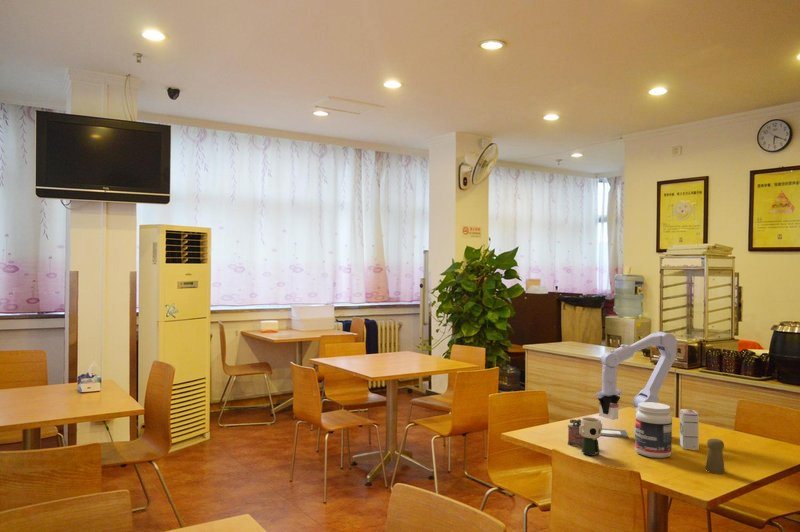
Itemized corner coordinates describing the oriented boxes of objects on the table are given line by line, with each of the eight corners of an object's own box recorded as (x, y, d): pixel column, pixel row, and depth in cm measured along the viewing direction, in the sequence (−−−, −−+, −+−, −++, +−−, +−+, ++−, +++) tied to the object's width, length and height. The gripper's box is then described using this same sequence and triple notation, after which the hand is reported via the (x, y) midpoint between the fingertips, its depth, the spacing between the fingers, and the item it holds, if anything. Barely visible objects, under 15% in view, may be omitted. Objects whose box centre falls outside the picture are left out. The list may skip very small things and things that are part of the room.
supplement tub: (628, 452, 226) (629, 404, 226) (645, 446, 234) (646, 400, 234) (661, 461, 216) (662, 411, 216) (677, 455, 224) (678, 406, 224)
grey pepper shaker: (701, 468, 210) (702, 436, 210) (717, 468, 210) (718, 436, 210) (712, 474, 204) (712, 441, 204) (728, 473, 204) (729, 441, 204)
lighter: (587, 444, 236) (588, 418, 236) (589, 446, 233) (590, 421, 233) (566, 443, 237) (567, 417, 237) (568, 445, 234) (568, 420, 234)
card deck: (604, 415, 257) (604, 401, 257) (618, 418, 251) (618, 404, 251) (599, 416, 255) (599, 402, 255) (613, 419, 249) (613, 405, 249)
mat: (625, 431, 256) (625, 430, 256) (628, 438, 246) (628, 437, 246) (588, 428, 260) (588, 427, 260) (590, 434, 249) (590, 433, 249)
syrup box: (699, 450, 231) (699, 413, 231) (682, 449, 232) (683, 412, 232) (694, 446, 236) (695, 409, 236) (678, 445, 237) (679, 408, 237)
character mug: (586, 458, 218) (586, 423, 218) (572, 453, 224) (573, 418, 224) (608, 455, 222) (608, 420, 222) (594, 449, 229) (594, 415, 229)
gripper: (606, 384, 246) (605, 417, 245) (628, 381, 254) (627, 413, 254) (592, 381, 251) (591, 413, 251) (613, 378, 259) (613, 409, 259)
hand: (608, 413), depth 253 cm, fingers closed on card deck, 3 cm apart
